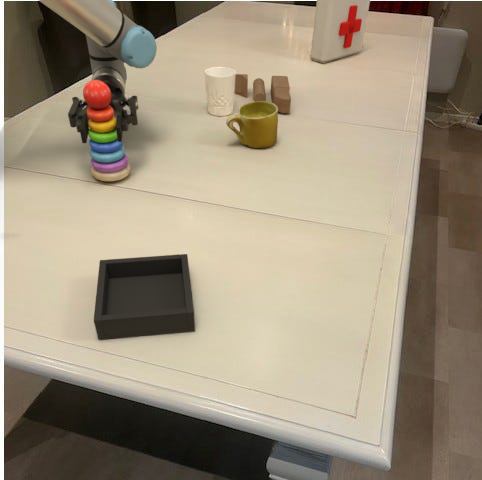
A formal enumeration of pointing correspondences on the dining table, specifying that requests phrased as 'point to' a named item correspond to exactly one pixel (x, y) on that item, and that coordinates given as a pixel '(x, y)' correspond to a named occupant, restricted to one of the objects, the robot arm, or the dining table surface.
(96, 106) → the stacking toy
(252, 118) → the mug
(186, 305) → the socket pad
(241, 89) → the wooden block set
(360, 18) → the bevelled white case
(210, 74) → the white cup
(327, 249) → the dining table surface
